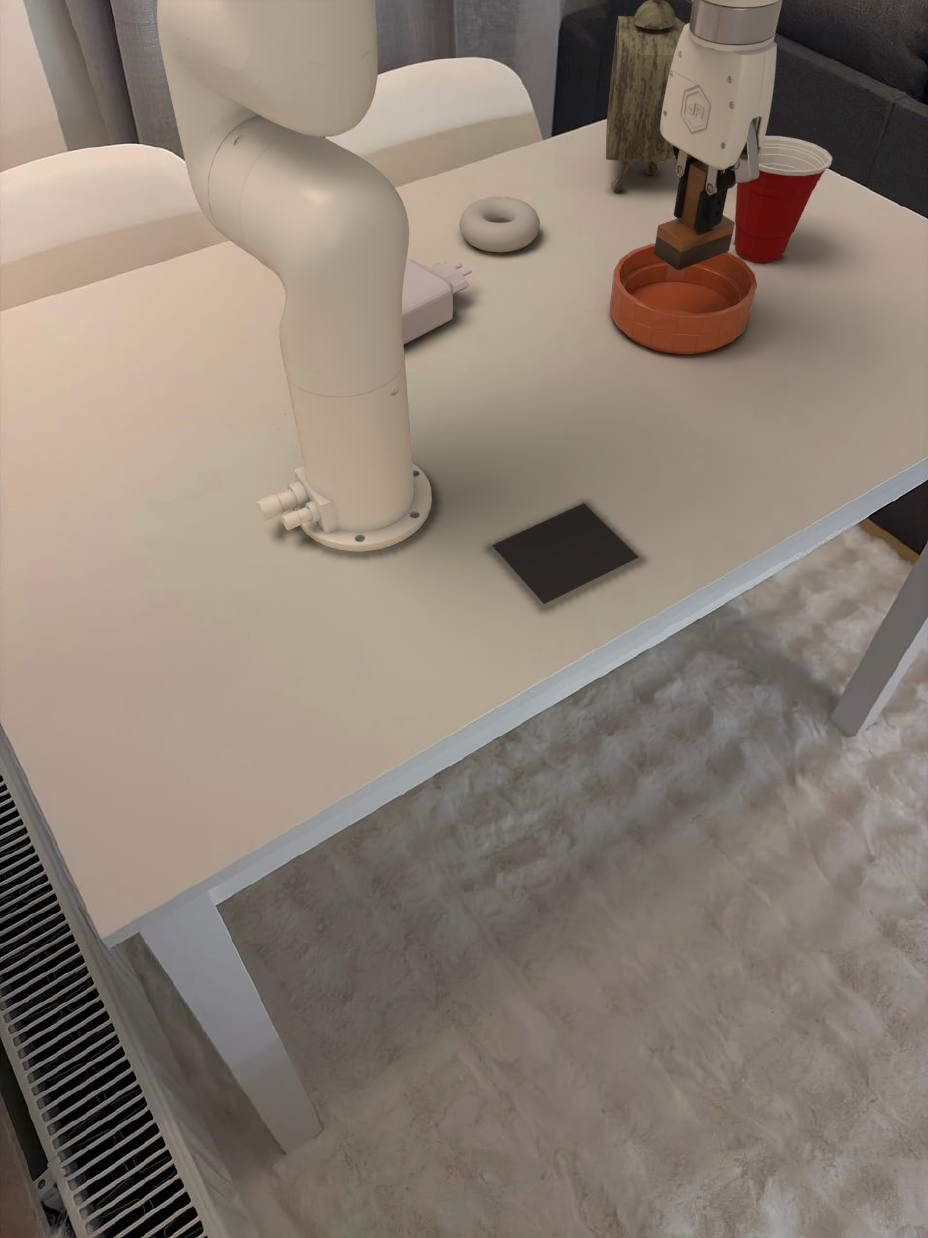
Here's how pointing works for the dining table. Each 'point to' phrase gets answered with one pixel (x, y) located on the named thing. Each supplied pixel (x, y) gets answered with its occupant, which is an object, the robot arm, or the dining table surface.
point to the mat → (564, 552)
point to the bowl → (681, 301)
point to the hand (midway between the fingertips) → (697, 218)
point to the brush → (692, 228)
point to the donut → (499, 224)
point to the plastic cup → (776, 196)
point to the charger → (429, 296)
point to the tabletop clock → (641, 86)
